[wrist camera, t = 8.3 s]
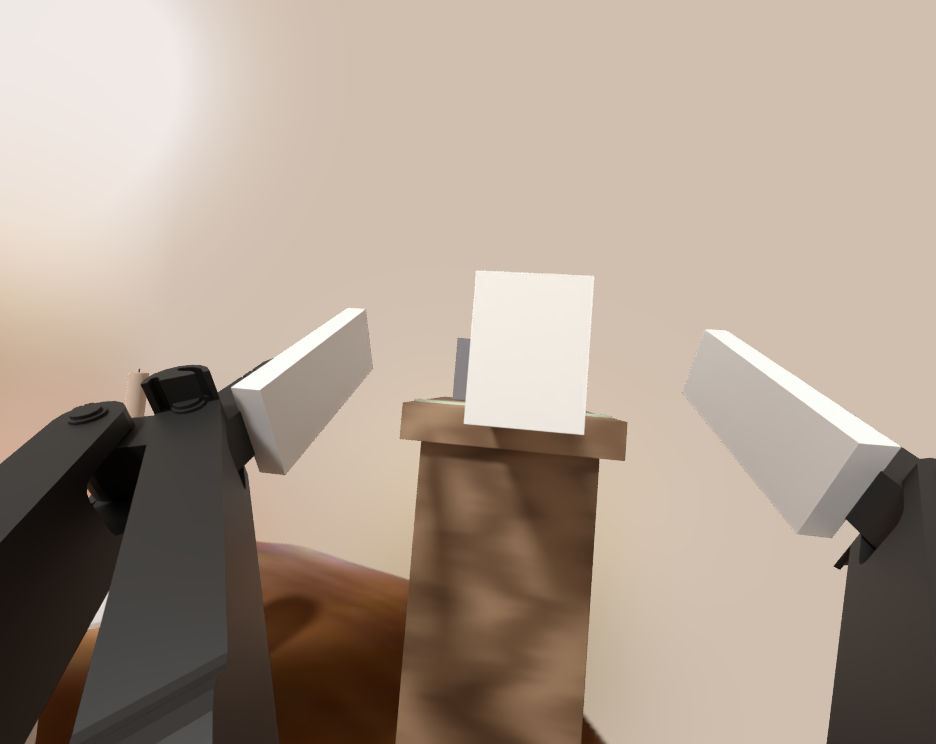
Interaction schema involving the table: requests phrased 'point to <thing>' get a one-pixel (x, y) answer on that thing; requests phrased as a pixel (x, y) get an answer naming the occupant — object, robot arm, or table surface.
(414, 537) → the tall stand
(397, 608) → the table surface
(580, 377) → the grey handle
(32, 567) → the robot arm
